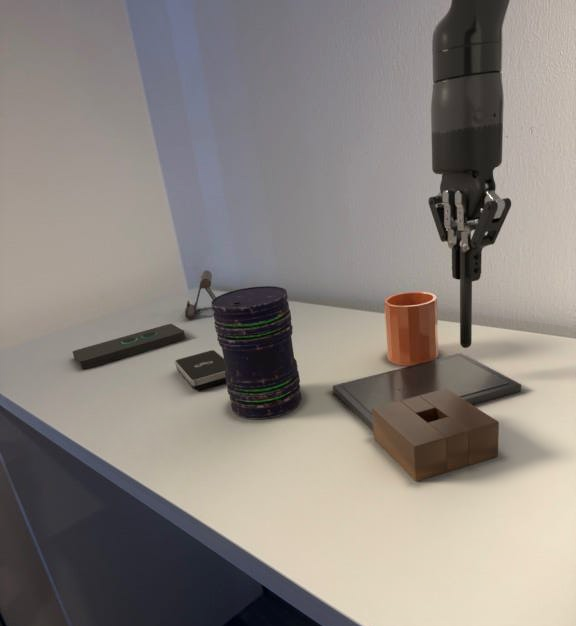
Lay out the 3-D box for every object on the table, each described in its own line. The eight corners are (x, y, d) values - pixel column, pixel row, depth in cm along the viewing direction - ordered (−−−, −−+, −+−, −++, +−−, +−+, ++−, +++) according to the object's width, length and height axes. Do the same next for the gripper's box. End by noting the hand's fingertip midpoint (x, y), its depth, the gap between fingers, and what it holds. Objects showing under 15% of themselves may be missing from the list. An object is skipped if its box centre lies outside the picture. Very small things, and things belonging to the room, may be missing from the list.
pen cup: (421, 344, 86) (419, 288, 82) (447, 358, 79) (446, 299, 76) (379, 354, 84) (375, 298, 81) (402, 370, 78) (399, 310, 74)
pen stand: (446, 418, 63) (446, 388, 62) (498, 456, 55) (499, 422, 53) (373, 439, 61) (371, 408, 60) (415, 482, 53) (414, 447, 51)
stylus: (467, 344, 71) (467, 236, 65) (473, 348, 70) (475, 237, 64) (457, 347, 71) (457, 238, 65) (464, 350, 69) (464, 239, 64)
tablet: (460, 359, 79) (460, 352, 78) (521, 391, 67) (521, 383, 67) (333, 392, 74) (332, 385, 74) (374, 433, 63) (373, 424, 62)
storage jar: (254, 384, 80) (237, 286, 74) (314, 390, 76) (301, 285, 70) (216, 415, 72) (194, 308, 66) (280, 423, 68) (262, 309, 62)
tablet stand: (188, 309, 125) (181, 274, 121) (222, 304, 125) (215, 268, 122) (186, 320, 117) (178, 282, 113) (222, 315, 117) (215, 277, 114)
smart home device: (185, 330, 104) (80, 361, 96) (186, 339, 105) (82, 370, 96) (170, 322, 111) (71, 350, 102) (172, 330, 112) (74, 358, 103)
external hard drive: (215, 360, 92) (213, 349, 91) (238, 380, 82) (236, 368, 82) (176, 371, 89) (173, 360, 89) (194, 393, 80) (192, 381, 79)
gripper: (539, 114, 54) (530, 284, 61) (460, 125, 66) (460, 265, 73) (474, 124, 53) (472, 297, 60) (405, 132, 65) (411, 275, 72)
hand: (466, 278), depth 66 cm, fingers closed on stylus, 1 cm apart
